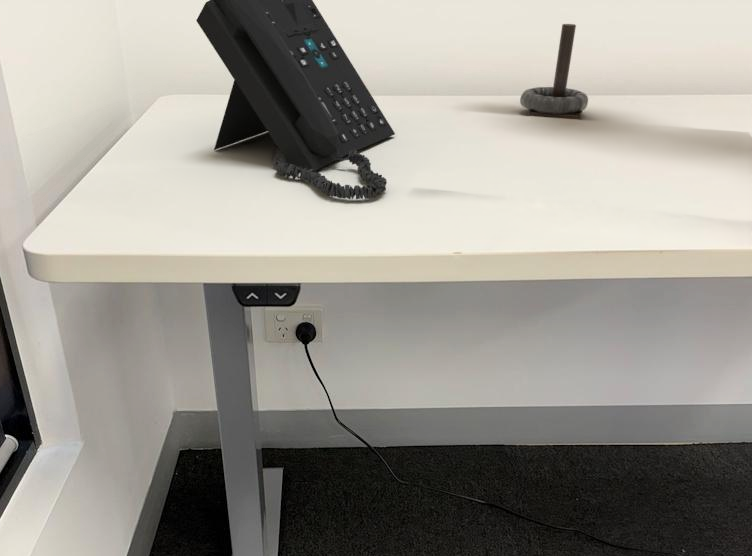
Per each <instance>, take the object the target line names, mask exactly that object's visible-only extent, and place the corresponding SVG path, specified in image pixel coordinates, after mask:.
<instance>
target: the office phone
mask: <svg viewBox="0 0 752 556" xmlns="http://www.w3.org/2000/svg"><path fill="white" fill-rule="evenodd" d="M195 21H196V23H197V24H198V26H199V27H200V29H201V31H202V32H203V34H204V35H205V37H206V38H207V40H208V41H209V43H210V44H211V46H212V47H213V49H214V51H215V52H216V53H217V55H218V56H219V57H218V58H220V60H221V61H222V63H223V64H224V66H225V68H226V69H227V71H228V72H229V74H230V75H231V77H232V78H233V83H232V87H231V90H230V94H229V97H228V100H227V104H226V107H225V110H224V115H223V118H222V121H221V125H220V128H219V131H218V134H217V138H216V142H215V144H214V148H213V151H216V150H219V149H222V148H224V147H227V145H228V146H230V145H233V144H235V143H239V142H242V141H244V139H245V140H247V139H250V138H253V137H256V136H259V135H262V134H264V133H267V132H268V134H269V136H270V137H271V139H272V140H273V141H274V147H273V151H272V157H271V163H272V164H273V165H274V170H275V171H276V172H277V175H279V176H280V177H282V176H283V177H286V179H288V178H290V177H292V179H293V181H294V180H295V179H296V178H297V179H298V180H299V179H300V181H302V182H305V181H306V182H308V183H311V185H313V186H314V187H316V188H317V191H320V192H321V193H322V194H324V195H326V196H327V197H331V198H333V197H334V198H335V197H337V198H338V199H344V200H345V199H348V200H353V199H354V198H355V200H360V199H361V200H363V199H364V200H371V199H372V198H377V197H378V196H379V195H381V193H383V192H385V191H387V187H386V186H387V183H388V181H387V178H385V176H383V174H379V172H374V171H373V170H372V169H371V166H372V163H371V162H370V159H369V158H368V157H367V156H366V155H365V154H361V153H359V150H361V149H364V148H366V147H369V146H371V145H373V144H375V143H376V144H377V142H381V141H382V140H385V139H387V138H390V137H393V136H394V135H396V133H395V131H394V129H393V128H392V126H391V125H390V123H389V122H388V120H387V118H386V117H385V115H384V113H383V112H382V110H381V108H380V107H379V105H378V104H377V102H376V101H375V99H374V96H373V95H372V94H371V92H370V91H369V89H368V87H367V86H366V85H365V83H364V81H363V79H362V78H361V76H360V74H359V73H358V71H357V70H356V68H355V67H354V65H353V63H352V62H351V60H350V58H349V57H348V55H347V53H346V52H345V51H344V48H343V47H342V45H341V44H340V43H339V41H338V39H337V38H336V35H334V33H333V31H332V29H331V27H330V26H329V24H328V23H327V22H326V20H325V18H324V16H323V15H322V13H321V12H320V10H319V8H318V7H317V5H316V4H315V2H314V1H313V0H207V1H206V2H205V3H204V5H203V7H202V9H201V10H200V13H199V15H198V17H197V18H196V20H195ZM241 140H242V141H241ZM276 147H277V148H278V150H279V151H280V153H281V154H282V156H283V157H282V158H279V159H278V157H277V155H276V149H277V148H276ZM345 156H347V157H346V158H343V157H345ZM336 161H349V163H351V165H352V166H353V165H355V166H356V167H357V173H358V175H359V177H360V178H361V180H362V181H364V183H366V185H363V186H362V187H361V186H360V185H359V184H356V185H354V186H352V185H350V184H344V185H341V184H340V182H337V183H335V182H333V181H332V180H330V179H328V178H326V176H325V175H322V173H320V171H317V170H319V169H321V168H324V167H326V166H328V165H329V164H331V163H334V162H336Z"/></svg>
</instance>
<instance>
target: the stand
mask: <svg viewBox="0 0 752 556" xmlns="http://www.w3.org/2000/svg"><path fill="white" fill-rule="evenodd" d="M576 28H577V24H574V23H562V25H561V31H560V37H559V43H558V44H559V45H558V51H557V58H556V66H555V72H554V79H553V86H552V87H553V92H552V97H565V93H566V88H567V87H568V86H567V85H568V78H569V74H570V73H569V72H570V66H571V60H572V55H573V54H572V53H573V47H574V40H575V34H576ZM528 110H529V109H528ZM582 115H583V111H580V112H576V113H569V114H552V113H541V112H536V111H531V110H529V111H528V114H527V117H535V118H537V117H538V118H548V119H549V118H550V119H561V120H563V119H564V120H575V121H581V120H582Z"/></svg>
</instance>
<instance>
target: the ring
mask: <svg viewBox="0 0 752 556" xmlns="http://www.w3.org/2000/svg"><path fill="white" fill-rule="evenodd" d="M552 92H553V86H537V87H532V88H528V89H525V90H523V92H522V93H521V96H520V98H519V103H520V105H521V106H522V107H523V108H525V109H527V110H531V111H536V112H541V113H552V114H569V113H576V112H580V111H582V112H583V111H584V110H586V108H587V107H588V103H589V97H588V95H587V94H586V92H583V91H580V90H578V89H574V88H568V87H566V93H565V97H552Z"/></svg>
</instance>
